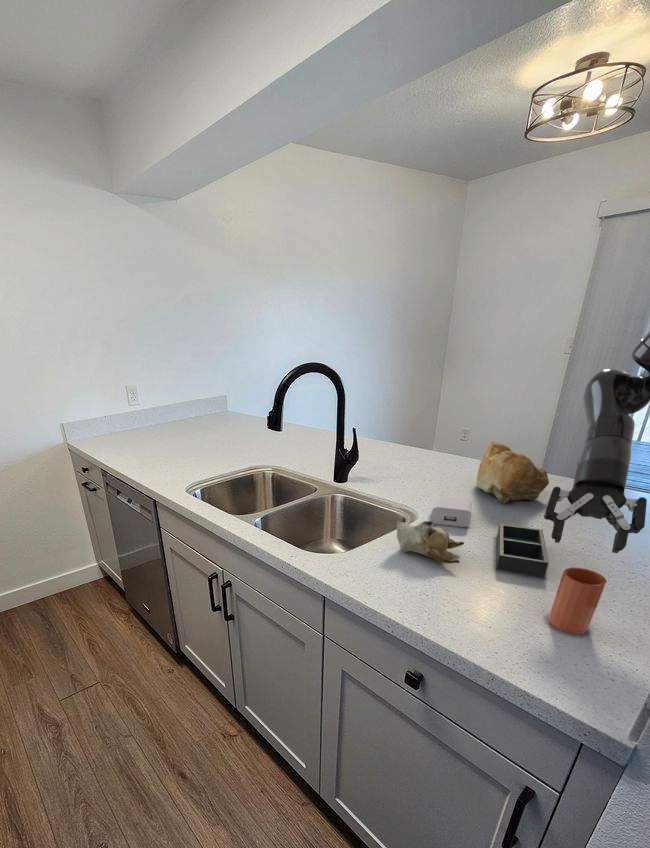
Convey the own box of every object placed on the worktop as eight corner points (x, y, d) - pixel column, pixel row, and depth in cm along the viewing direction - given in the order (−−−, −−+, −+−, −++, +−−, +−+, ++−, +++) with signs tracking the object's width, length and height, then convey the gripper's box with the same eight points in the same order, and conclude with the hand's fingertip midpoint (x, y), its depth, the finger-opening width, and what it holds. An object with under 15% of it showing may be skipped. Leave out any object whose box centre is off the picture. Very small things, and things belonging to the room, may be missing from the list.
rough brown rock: (556, 515, 119) (576, 462, 112) (490, 508, 121) (507, 456, 115) (525, 487, 139) (540, 441, 133) (470, 482, 142) (482, 437, 135)
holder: (538, 542, 104) (542, 529, 103) (544, 577, 91) (548, 563, 89) (496, 536, 108) (499, 523, 106) (496, 569, 95) (499, 555, 93)
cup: (585, 618, 79) (602, 571, 74) (590, 637, 74) (609, 588, 70) (547, 610, 81) (562, 564, 77) (549, 628, 77) (566, 581, 72)
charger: (469, 506, 125) (468, 527, 113) (435, 502, 129) (430, 522, 117) (472, 491, 123) (471, 511, 111) (437, 487, 127) (433, 506, 115)
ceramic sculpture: (403, 506, 105) (470, 520, 99) (397, 537, 110) (461, 552, 103) (393, 524, 97) (465, 540, 91) (387, 557, 102) (456, 574, 95)
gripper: (560, 452, 81) (542, 531, 78) (660, 461, 74) (645, 548, 71) (553, 471, 88) (536, 544, 85) (644, 481, 81) (629, 561, 78)
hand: (586, 546), depth 78 cm, fingers open, 8 cm apart
